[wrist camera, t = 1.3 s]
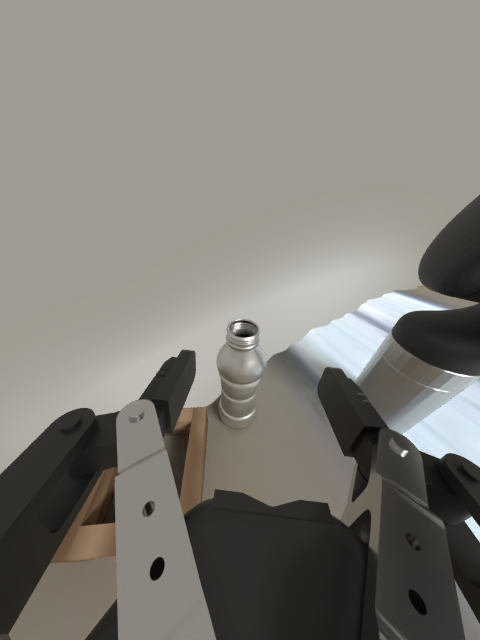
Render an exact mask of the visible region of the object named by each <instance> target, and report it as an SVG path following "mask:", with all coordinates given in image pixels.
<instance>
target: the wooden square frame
mask: <svg viewBox="0 0 480 640" xmlns="http://www.w3.org/2000/svg"><path fill="white" fill-rule="evenodd" d="M118 412H119V411H118ZM207 428H208V416H207V410H206V407H197V408H183V409H182V411H181V413H180V416H179V418H178V421H177V423H176V426H175V428H174V431H173V433H172V434H167V433H165V435H182V434H189V440H188V447H187V454H186V460H185V467H184V474H183V480H182V487H181V493H180V504H181V508H182V512H183V516H184V515H185V514H186V513H187V512H188V511H189V510H190V509H192V508H193V507H194V506H196V505H198V504H199V503H201V502H202V493H203V480H204V467H205V454H206V441H207ZM165 435H164V436H165ZM117 473H118V467H114V468H110V469H106V470H103V472H102V474H101V476H100V477H99V479H98V481H97V483H96V484H95V486H94V488H93V489H92V491H91V493H90V495H89V496H88V498H87V500H86V501H85V503H84V505H83V507H82V508H81V510H80V512H79V513H78V515H77V517H76V519H75V520H74V522H73V524H72V525H71V527H70V529H69V531H68V532H67V534H66V536H65V537H64V539H63V541H62V543H61V544H60V546H59V548H58V550H57V551H56V553H55V555H54V556H53V558H52V560H51V562H50V563H61V562H76V561H85V560H94V559H102V558H111V557H116V523H108V524H103V521H104V518H105V516H106V513H107V510H108V508H109V505H110V502H111V500H112V497H113V494H114V492H115V476H116V474H117Z"/></svg>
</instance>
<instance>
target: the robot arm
mask: <svg viewBox="0 0 480 640" xmlns="http://www.w3.org/2000/svg"><path fill="white" fill-rule="evenodd" d="M418 275H419V279H420V281H421V282H422V284H423V285H424V286H425V287H427V288H428V289H430V290H433V291H435V292H438V293H440V294H443V295H447V296H451V297H456V298H460V299H465V300H469V301H474V302H478V303H479V304H476V305H474V306H470V307H466V308H461V309H454V310H443V311H414V312H410V313H407V314H405V315H403V316H402V317H401V318H400V319H399V320H398V322H397V323H396V324H395V326H394V327H393V329H392V330H391V331H390V333H389V334H388V336H387V337H386V338H385V340H384V341H383V343H382V344H381V346H380V347H379V348H378V350H377V351H376V353H375V354H374V355H373V357H372V358H371V360H370V361H369V362H368V364H367V365H366V367H365V368H364V369H363V371H362V372H361V374H360V375H359V376H358V378H357V379H356V381H355V382H353V381H352V380H351V379H350V378H347V376H346V375H345V374H344V372H343V371H342V370H341V369H339V368H331V367H326V368H325V370H324V372H323V375H322V377H321V379H320V382H319V384H318V396H319V398H320V401H321V403H322V405H323V408H324V410H325V412H326V415H327V417H328V419H329V422H330V424H331V426H332V429H333V431H334V433H335V436H336V438H337V440H338V443H339V445H340V447H341V450H342V452H343V454H344V456H349V457H354V458H355V460H356V462H357V463H356V464H355V466H354V470H353V475H352V481H351V486H350V491H349V496H348V501H347V506H346V509H345V511H344V513H343V515H342V518H341V520H339V519H337V518H336V517H334V516H332V515H331V513H330V509H329V506H328V503H321V502H313V501H305V500H298V501H294V502H290V503H286V504H283V505H279V506H275V507H271V506H268V505H266V504H264V503H262V502H260V501H258V500H256V499H254V498H252V497H250V496H248V495H246V494H244V493H240V492H232V491H224V490H216V489H215V493H214V498H213V499H209V500H206V501H204V502H201V503H199V504H198V505H196V506H194V507H193V508H192V509H190V510H189V511H188V512H187V513H186V514H185V515H184V516H183V512H182V508H181V504H180V500H179V496H178V493H177V489H176V485H175V481H174V477H173V473H172V469H171V465H170V461H169V457H168V454H167V450H166V448H165V445H164V441H163V438H164V435H165V433H167V434H172V433H173V431H174V428H175V426H176V423H177V421H178V418H179V416H180V413H181V411H182V409H183V406H184V404H185V401H186V399H187V396H188V394H189V391H190V389H191V386H192V384H193V381H194V378H195V371H196V361H195V360H196V359H195V351H190V350H182V351H181V352H180V354H179V355H178V357H177V358H176V357H171V358H170V359H168V360H167V361H166V362H164V364H163V365H162V367H161V368H160V370H159V371H158V372H157V374H156V376H155V377H154V378H153V380H152V381H151V383H150V384H149V385H148V387H147V388H146V390H145V391H144V393H143V394H142V396H141V397H140V398H139V400H137V401H134V402H131V403H129V404H128V405H126V406H125V407H124V408H123V409H122V410H121V411H119V412H115V413H109V414H104V415H98V416H95V414H94V412H93V411H92V410H91V409H88V408H80V409H76V410H73V411H70V412H68V413H66V414H64V415H62V416H61V417H59V418H58V419H57V420H55V421H54V422H53V423H52V424H51V425H50V426H49V427H48V428H47V429H46V430H45V431H44V432H43V433H42V434H41V435H40V436H39V437H38V438H37V439H36V440H35V441H34V442H33V443H32V444H31V445H30V446H29V447H28V448H27V449H26V450H25V451H24V452H23V453H22V454H21V455H20V456H19V457H18V458H17V459H16V460H15V461H14V462H13V463H12V464H11V465H10V466H8V468H7V469H6V470H4V471H3V473H1V474H0V640H11V639H10V637H9V635H8V634H9V632H10V630H11V629H12V627H13V625H14V623H15V622H16V620H17V618H18V617H19V615H20V613H21V611H22V610H23V608H24V606H25V605H26V603H27V601H28V599H29V598H30V596H31V594H32V592H33V591H34V589H35V587H36V586H37V584H38V582H39V580H40V579H41V577H42V575H43V574H44V572H45V570H46V568H47V567H48V565H49V563H50V562H51V560H52V558H53V556H54V555H55V553H56V551H57V550H58V548H59V546H60V544H61V543H62V541H63V539H64V537H65V536H66V534H67V532H68V531H69V529H70V527H71V525H72V524H73V522H74V520H75V519H76V517H77V515H78V513H79V512H80V510H81V508H82V507H83V505H84V503H85V501H86V500H87V498H88V496H89V495H90V493H91V491H92V489H93V488H94V486H95V484H96V483H97V481H98V479H99V477H100V476H101V474H102V472H103V470H106V469H110V468H114V467H118V473H117V474H116V476H115V523H116V565H117V599H116V601H115V602H114V603H113V605H112V606H111V607H110V608H109V610H108V611H107V612H106V613H105V615H104V616H103V617H102V619H101V620H100V621H99V622H98V624H97V625H96V626H95V627H94V629H93V630H92V631H91V633H90V634H89V635H88V636H87V638H86V639H85V640H465V635H464V630H463V624H462V619H461V613H460V608H459V602H458V597H457V591H456V586H455V581H456V582H457V584H458V586H459V588H460V589H461V591H462V593H463V595H464V597H465V598H466V600H467V602H468V604H469V605H470V607H471V609H472V611H473V612H474V614H475V616H476V618H477V620H478V621H479V623H480V542H479V541H478V540H477V538H476V537H475V535H474V534H473V533H472V531H471V530H470V528H469V527H468V526H467V524H466V523H465V520H467V519H468V518H470V517H473V518H474V520H475V521H476V522H477V524H478V525H479V526H480V468H479V467H478V466H477V465H475V464H474V463H472V462H471V461H469V460H467V459H465V458H464V457H461V456H459V455H456V454H452V453H448V454H446V455H445V456H443V457H442V458H441V459H439V458H436V457H434V456H431V455H429V454H426V453H424V452H421V451H419V450H418V449H417V448H416V447H415V445H414V444H413V443H412V442H411V441H410V440H408V439H407V438H406V437H405V436H403V435H402V434H403V433H404V432H406V431H407V430H409V429H410V428H412V427H413V426H414V425H416V424H417V423H419V422H420V421H421V420H423V419H424V418H425V417H427V416H428V415H430V414H431V413H432V412H434V411H435V410H437V409H438V408H439V407H441V406H442V405H444V404H445V403H446V402H448V401H449V400H450V399H452V398H453V397H455V396H456V395H457V394H459V393H460V392H462V391H463V390H464V389H465V388H467V387H468V386H470V385H471V384H472V383H474V382H475V381H477V380H478V379H479V378H480V195H479V196H478V197H477V198H475V199H474V200H473V201H472V202H471V203H470V204H469V205H467V206H466V207H465V208H464V209H463V210H462V211H461V212H460V213H459V214H458V215H456V217H454V218H453V219H452V221H451V222H449V223H448V224H447V225H446V227H445V228H444V229H443V230H442V231H441V232H440V233H439V234H438V235H437V237H436V238H435V239H434V240H433V242H432V243H431V244H430V246H429V247H428V248H427V250H426V252H425V254H424V255H423V257H422V259H421V262H420V265H419V270H418ZM454 579H455V580H454Z"/></svg>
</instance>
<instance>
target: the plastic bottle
mask: <svg viewBox="0 0 480 640" xmlns="http://www.w3.org/2000/svg"><path fill="white" fill-rule="evenodd" d="M226 341H227V342H226V343H225V344H224V345H223V346H222V348H221V349H220V351H219V354H218V356H217V367H218V371H219V375H220V379H221V386H222V393H221V398H220V401H219V407H218V408H219V414H220V417H221V419H222V421H223V422H224V423H225V424H226V425H227V426H228V427H230V428H232V429H243V428H246V427H248V426H249V425H250V424H251V423H252V422H253V420H254V419H255V417H256V414H257V400H256V397H257V389H258V386H259V383H260V381H261V378H262V376H263V374H264V372H265V369H266V365H267V361H266V356H265V353H264V351H263V349H262V348H261V346H260V345H259V327H258V325H257V324H256V323H254V322H253V321H250V320H246V319H238V320H234V321H232V322H231V323H229V324H228V327H227V336H226Z"/></svg>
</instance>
